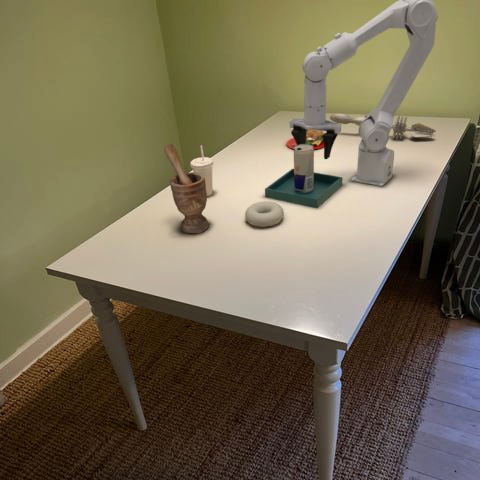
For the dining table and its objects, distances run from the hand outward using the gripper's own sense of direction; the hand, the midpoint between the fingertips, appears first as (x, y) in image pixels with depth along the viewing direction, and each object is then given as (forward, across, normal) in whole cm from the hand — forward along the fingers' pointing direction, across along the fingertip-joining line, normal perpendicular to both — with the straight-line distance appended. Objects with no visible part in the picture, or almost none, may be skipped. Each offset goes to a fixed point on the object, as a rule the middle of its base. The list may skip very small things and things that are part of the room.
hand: (314, 156), depth 134 cm
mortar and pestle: (+8, -17, -36) cm, 41 cm away
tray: (+8, 0, -6) cm, 10 cm away
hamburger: (+8, -17, +27) cm, 33 cm away
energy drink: (+8, 0, -6) cm, 10 cm away
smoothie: (+8, -25, -19) cm, 33 cm away
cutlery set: (+8, +3, +41) cm, 42 cm away
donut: (+8, -1, -25) cm, 26 cm away
